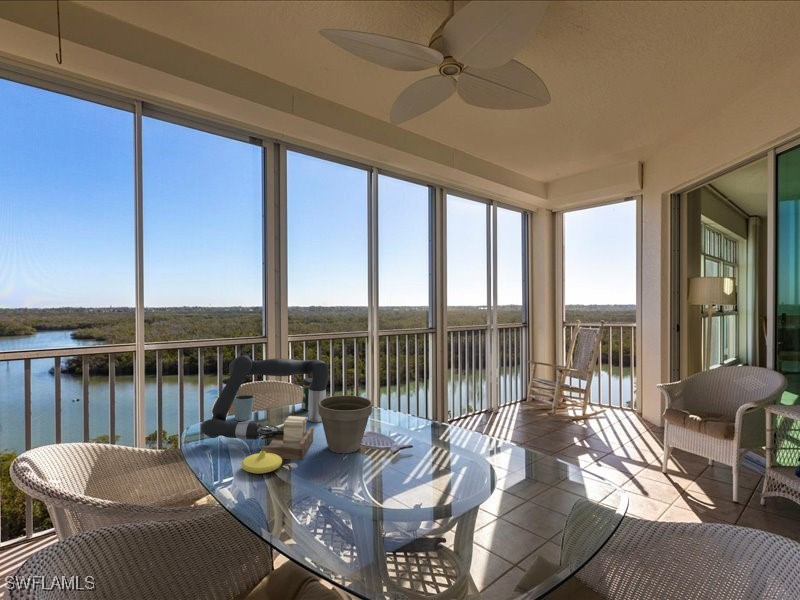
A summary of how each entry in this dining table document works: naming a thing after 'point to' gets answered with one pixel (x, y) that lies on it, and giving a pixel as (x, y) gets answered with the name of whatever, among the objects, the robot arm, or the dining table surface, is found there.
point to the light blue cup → (243, 407)
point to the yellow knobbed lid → (261, 462)
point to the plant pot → (344, 421)
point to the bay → (290, 452)
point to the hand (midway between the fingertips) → (286, 432)
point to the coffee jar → (306, 393)
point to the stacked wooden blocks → (294, 431)
